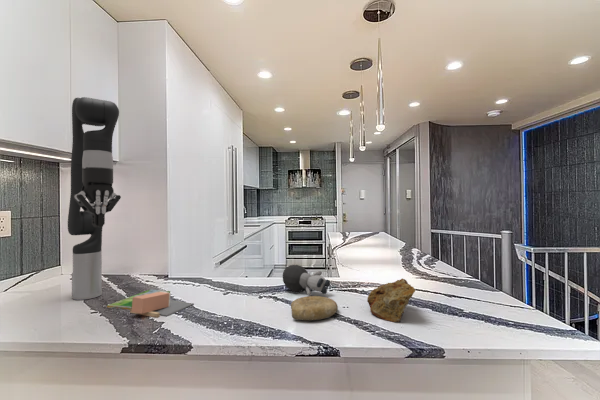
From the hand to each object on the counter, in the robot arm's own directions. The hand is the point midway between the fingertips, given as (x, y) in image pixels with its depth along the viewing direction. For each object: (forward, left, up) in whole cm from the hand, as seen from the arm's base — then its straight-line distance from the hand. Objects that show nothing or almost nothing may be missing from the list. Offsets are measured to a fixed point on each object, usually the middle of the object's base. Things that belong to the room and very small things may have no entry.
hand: (98, 226), depth 88 cm
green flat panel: (-11, +23, -30) cm, 39 cm away
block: (+4, +10, -25) cm, 27 cm away
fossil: (+54, +33, -30) cm, 70 cm away
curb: (+4, +12, -29) cm, 32 cm away
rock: (+76, +43, -29) cm, 92 cm away
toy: (+44, +53, -29) cm, 75 cm away
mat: (+4, +20, -29) cm, 35 cm away
